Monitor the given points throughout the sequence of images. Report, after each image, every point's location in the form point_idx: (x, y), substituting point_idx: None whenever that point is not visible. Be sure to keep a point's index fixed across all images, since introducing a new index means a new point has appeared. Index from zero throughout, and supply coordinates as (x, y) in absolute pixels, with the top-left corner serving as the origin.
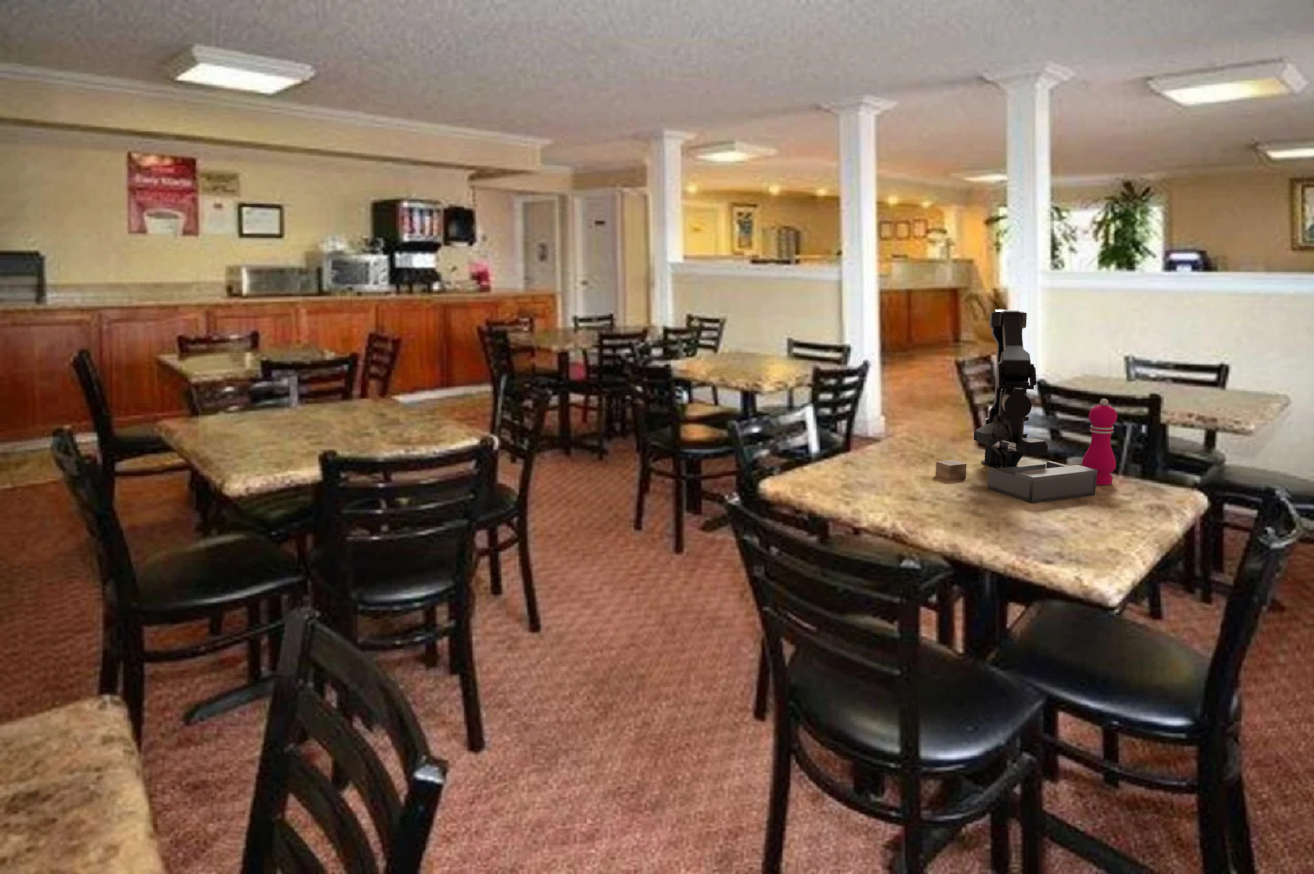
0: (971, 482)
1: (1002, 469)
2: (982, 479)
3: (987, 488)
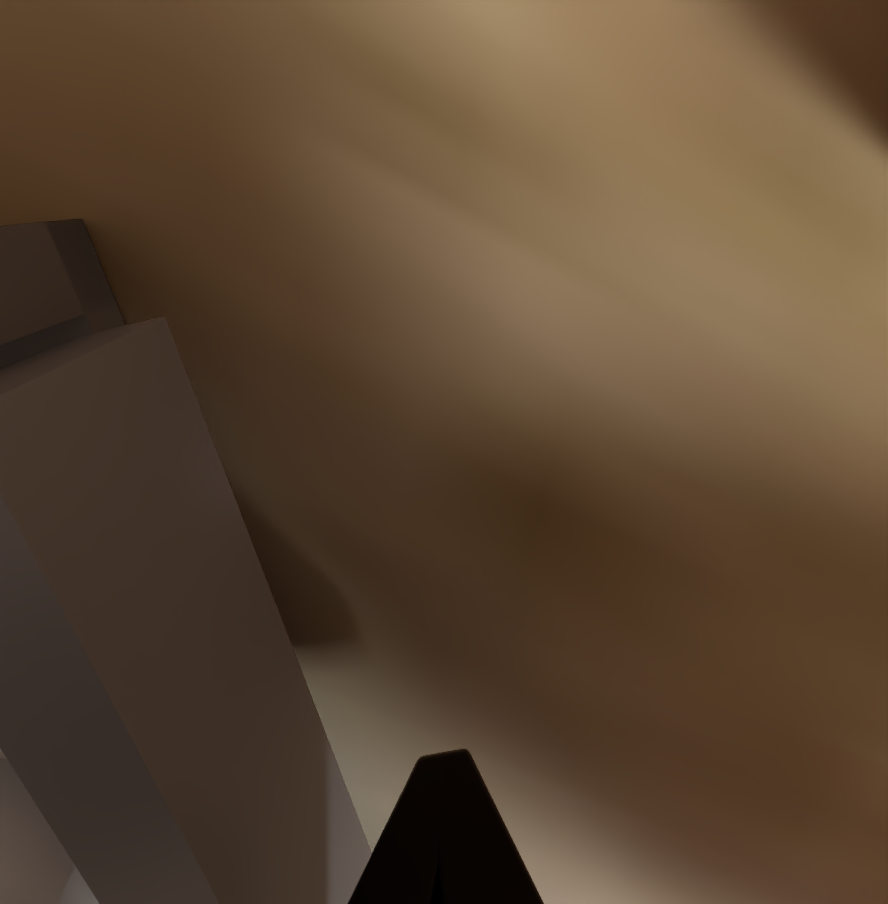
0: (626, 160)
1: (30, 753)
2: (762, 472)
3: (75, 220)
